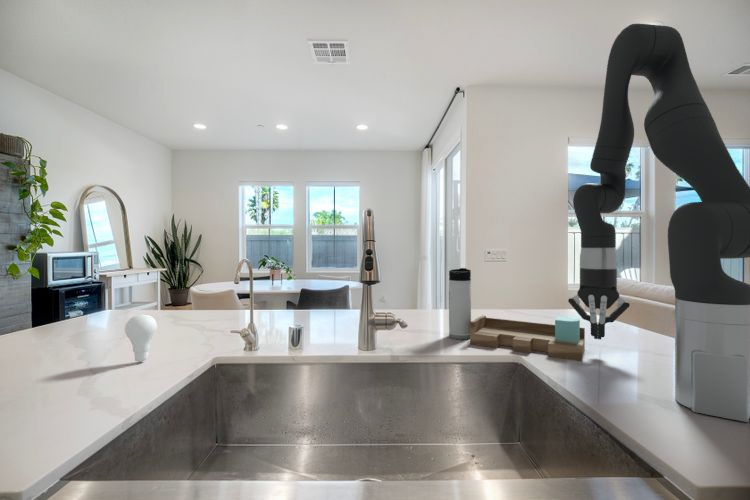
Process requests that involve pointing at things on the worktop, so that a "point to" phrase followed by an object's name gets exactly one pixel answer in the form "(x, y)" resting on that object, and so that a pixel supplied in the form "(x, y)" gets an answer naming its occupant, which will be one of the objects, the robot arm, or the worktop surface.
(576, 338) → the teal block
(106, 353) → the worktop surface
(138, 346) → the lightbulb
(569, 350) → the walnut tray
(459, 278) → the travel mug
